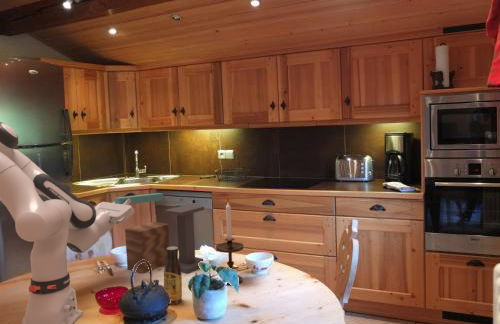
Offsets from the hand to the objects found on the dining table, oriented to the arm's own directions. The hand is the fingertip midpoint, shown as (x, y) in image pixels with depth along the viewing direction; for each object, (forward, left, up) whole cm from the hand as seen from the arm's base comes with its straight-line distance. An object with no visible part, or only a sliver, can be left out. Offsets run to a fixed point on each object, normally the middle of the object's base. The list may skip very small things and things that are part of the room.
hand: (126, 199), depth 193 cm
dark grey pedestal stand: (+2, -23, -32) cm, 40 cm away
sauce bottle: (-36, -19, -32) cm, 52 cm away
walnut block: (+7, -7, -32) cm, 34 cm away
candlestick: (-20, -41, -32) cm, 56 cm away
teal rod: (+5, -5, -3) cm, 8 cm away
